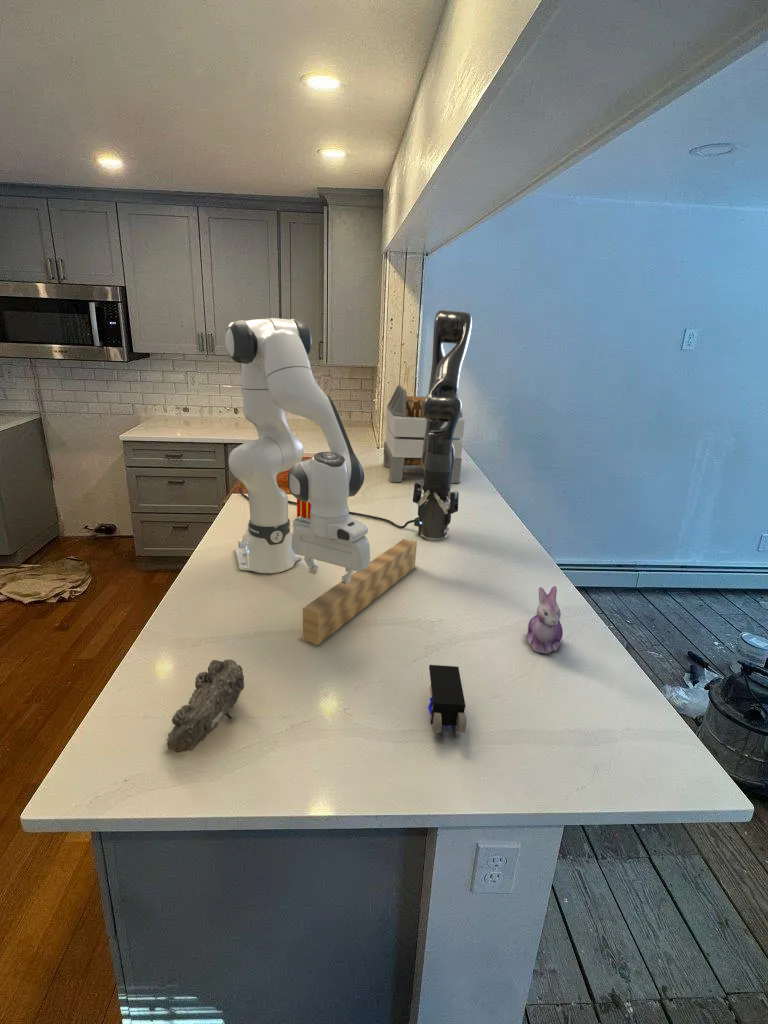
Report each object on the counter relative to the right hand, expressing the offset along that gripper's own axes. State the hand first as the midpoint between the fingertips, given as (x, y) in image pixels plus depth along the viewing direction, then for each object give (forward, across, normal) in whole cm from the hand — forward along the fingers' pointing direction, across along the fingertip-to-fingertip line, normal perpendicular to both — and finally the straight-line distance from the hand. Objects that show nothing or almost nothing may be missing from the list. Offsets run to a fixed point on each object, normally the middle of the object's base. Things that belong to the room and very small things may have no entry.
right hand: (433, 521), depth 164 cm
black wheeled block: (+18, +39, -50) cm, 66 cm away
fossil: (+18, +6, -80) cm, 82 cm away
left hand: (+4, 0, -42) cm, 42 cm away
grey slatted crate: (+16, -69, +88) cm, 113 cm away
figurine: (+17, +42, -11) cm, 47 cm away
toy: (+17, -60, +8) cm, 63 cm away
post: (+17, -4, -24) cm, 30 cm away
